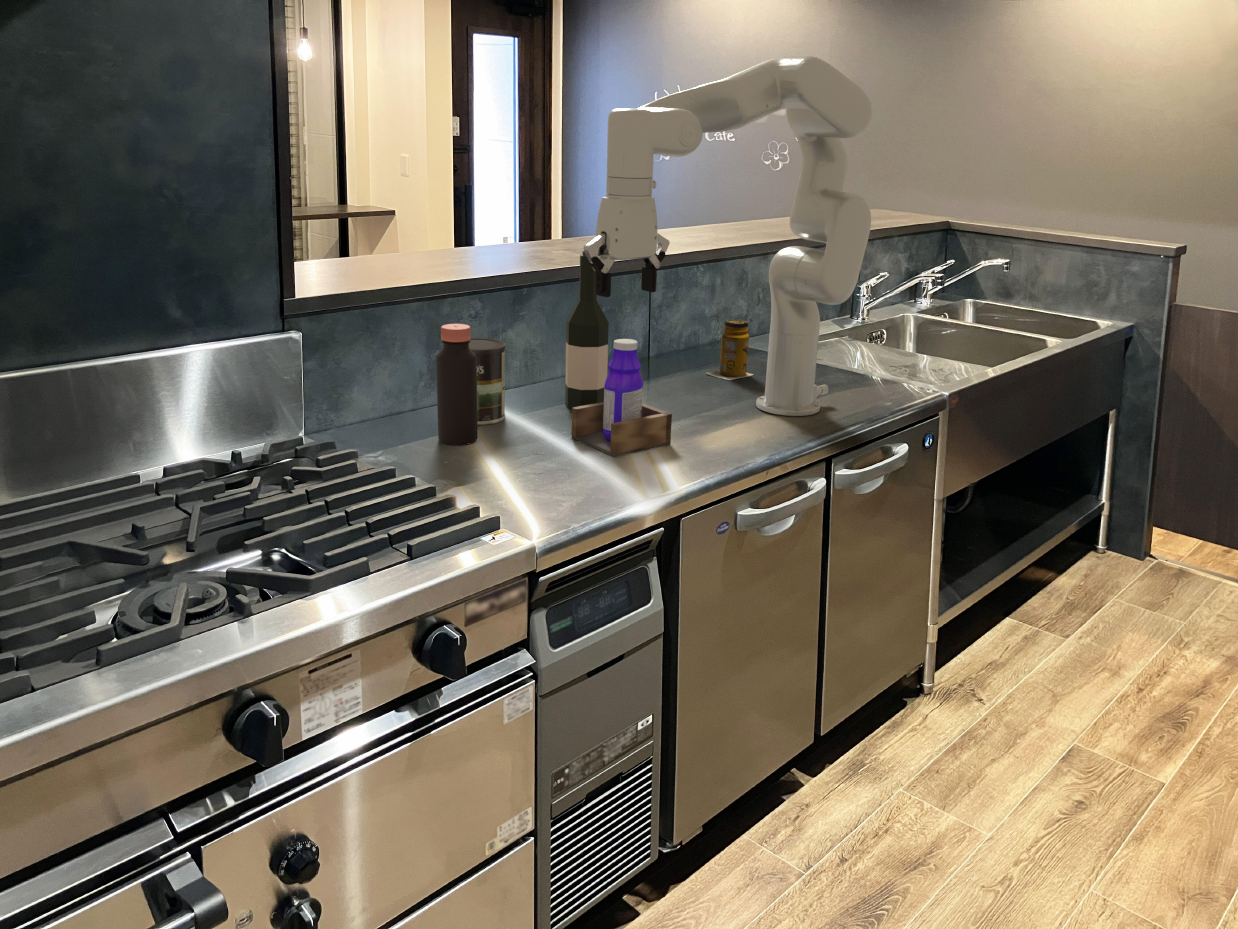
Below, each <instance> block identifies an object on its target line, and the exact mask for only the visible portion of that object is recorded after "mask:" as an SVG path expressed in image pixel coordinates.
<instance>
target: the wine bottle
mask: <svg viewBox="0 0 1238 929" xmlns="http://www.w3.org/2000/svg"><path fill="white" fill-rule="evenodd" d="M597 257H598V256H597ZM587 259H588V258H587V257H586V254H585V252H584V249H583V250H582V252H581V254H580V255H579V282H578V283H579V291H578V294H579V295H578V301H577V302H576V304H575V305H574V307H573V308H572V310H571V312H570V313H569V315H568V316H567V318H566V321H565V322H566V325H565V334H566V335H565V383H564V384H565V385H564V386H565V388H564V389H565V390H564V391H565V393H564V401H565V402H564V404H565V406H566V407H567V409H571V410H572V408H573V407H579V406H584V405H590V404H595V403H601V402H604V385H605V381H606V378H607V375H608V364H609V363H608V362H609V361H608V359H609V358H608V357H609V356H608V355H609V329H610V328H609V325H610V324H609V323H610V322H609V320H608V319H607V317H606V315H605V314H604V311H603V310H602V308H601V306H600V304H599V301H598V299H597V298H598V295H597V294H596V271H594V270H593V267H592V266H591V265H590V264H589V262H588V260H587Z"/></svg>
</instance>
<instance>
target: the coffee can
mask: <svg viewBox="0 0 1238 929" xmlns="http://www.w3.org/2000/svg"><path fill="white" fill-rule="evenodd" d="M469 348H470V349H471V350H472V351H473V352H474V353H475V355H476V358H477V424H478V426H485V425H493V424H497V423H498V424H499V423H500V422H502V421H504V420H505V418H506V413H505V410H506V408H505V406H506V403H505V402H506V400H505V398H506V388H505V385H506V384H505V382H506V367H505V366H506V362H505V360H506V359H505V358H506V352H505V351H506V343H505V342H504V341H502V340H498V339H495V338H489V337H488V338H486V337H471V339H470V343H469Z"/></svg>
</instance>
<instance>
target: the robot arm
mask: <svg viewBox="0 0 1238 929" xmlns="http://www.w3.org/2000/svg"><path fill="white" fill-rule="evenodd" d="M784 109H785V110H786V112H785V113H786V119H787V122H788V124H789V127H790V128H791V130H792V132H793V133H794V136H795V137H796V139H797V142H798V144H799V148H800V152H801V166H800V172H799V177H798V181H797V185H796V190H795V193H794V197H793V202H792V206H791V211H790V217H789V227H790V230H791V232H792V234H794V236H797V237H798V238H800V239H802V240H806V241H812V242H818V243H824V244H826V245H825V250H823V249H818V248H813V247H808V246H807V247H806V246H802V245H801V246H800V245H799V246H798V245H793V246H787V247H784V248H782V249H780V250H779V251H777V252H776V253H775V255H774V256H773V258H772V259H771V261H770V264H769V270H768V281H769V289H770V290H769V291H770V299H771V300H770V302H771V304H770V305H771V306H770V307H771V310H770V324H769V334H768V335H769V336H768V348H767V361H766V362H767V363H766V373H765V374H766V375H765V389H764V395H762V396H759V397H757V398H756V400H755V401H756V402H755V406H756V407H757V408H758V410H761V411H763V412H766V413H769V414H772V415H778V416H788V417H803V416H810V415H811V416H812V415H815V414H817V413H818V412H820V410H821V404H820V402H819V401H817V397H818V396H820V395H826V394H828V393H829V386H828V384H825V383H824V384H821V385H817V384H815V381H816V371H817V361H818V349H819V348H818V347H819V340H820V339H819V338H820V330H821V328H820V327H821V316H820V311H819V307H818V304H817V303H819V304H820V303H821V304H825V305H830V306H834V305H835V306H837V305H840V304H843V303H845V302H846V301H847V300H849V298H850V297H851V295H852V294H853V292H854V290H855V288H856V285H857V283H858V281H859V280H858V279H859V276H860V272H861V268H862V265H863V260H864V256H865V254H866V249H867V245H868V241H869V237H870V232H871V229H872V228H871V227H872V213H871V209H870V205H869V203H868V202H867V200H866V199H865V198H864V197H862V196H861V195H860V194H857V193H855V192H849V191H848V192H847V191H844V188H845V182H846V177H847V172H848V155H847V152H846V148H845V145H844V144H843V141H842V139H853V138H855V137H858V136H860V135H861V134H862V133H864V132H865V131H866V130H867V128H868V127H869V125H870V123H871V120H872V112H873V110H872V109H873V107H872V103H871V100H870V98H869V96H868V94H867V93H866V92H865V90H864V89H863V88H862V87H860V85H858V84H856V83H855V82H854V81H853V80H851V79H850V78H849V77H847V76H846V75H845V74H844V73H843V72H841V71H840V70H838V69H837V68H835V67H834V66H833V65H831V64H830V63H828V61H825V60H823V59H821V58H820V57H819V58H818V57H817V56H807V55H806V56H779V57H773V58H771V59H770V58H769V59H768V60H765V61H763V62H760V63H758V64H756V65H753V66H750V67H749V68H746V69H744V70H742V71H739V72H737V73H734V74H732V75H730V76H726V77H725V78H722V79H720V80H716V81H711V82H709V83H705V84H701V85H698V86H695V87H692V88H689V89H686V90H682V91H678V92H674V93H672V94H668V95H665V96H663V97H660V98H658V99H657V98H656V99H655V100H652V101H651V102H649V103H646V104H644V105H641V106H640V107H637V108H631V107H630V108H628V107H627V108H624V107H623V108H621V107H620V108H614V109H612V110H611V111H610V112H609V114H608V117H607V143H606V144H607V146H606V148H607V149H606V150H607V151H606V154H607V156H606V157H607V158H606V184H605V185H606V187H605V188H606V189H605V192H606V193H605V195H606V196H602V197H601V200H600V203H599V209H598V213H597V214H598V215H597V220H596V221H597V222H596V230H595V237H594V238H592V239H591V240H590V241H589V242H587V243H586V244H584V245H583V248H582V249H583V250H584V252H585V254H586V257H587V258H588V259H587V260H588V262H589V264H590V265H591V266H592V267H593V270H594V271H596V294H597V296H598V297H599V296H600V297H602V298H610V297H612V296H611V295H612V291H611V290H612V273H611V272H609V270H610V269H611V267H612V266H613V264H614V263H615V261H616V262H617V261H630V260H631V261H632V260H641V261H642V263H643V264H644V266H641V280H640V282H641V283H640V284H641V287H640V288H641V290H642V291H646V292H649V293H656V291H657V272H658V269H659V268H661V264H662V261H663V260H664V259H665V257H666V252H667V250H668V248H669V246H670V240H669V239H667V238H666V237H664V236H663V235H661V234H660V233H658V216H657V205H656V200H655V197H653V190H654V189H656V188H657V182H656V181H655V180H654V178H653V177H654V159H655V158H654V156H655V155H656V156H665V157H673V158H675V157H677V158H678V157H679V158H680V157H686V156H688V155H690V154H692V153H694V152H695V151H696V150H697V149H698V148H699V146H700V144H701V142H702V140H703V135H704V134H707V133H709V134H711V133H722V132H729V131H733V130H738V129H742V128H744V127H746V126H747V125H750V124H752V123H754V122H757V121H758V120H761V119H763V118H766V117H767V116H769V115H772V114H773V113H776V112H779V111H781V110H784ZM597 256H598V257H597Z"/></svg>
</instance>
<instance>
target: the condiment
mask: <svg viewBox="0 0 1238 929" xmlns="http://www.w3.org/2000/svg"><path fill="white" fill-rule="evenodd" d="M748 332H749V322H748V321H747V320H743V319H735V318H732V319H726V320H724V326H723V332H722V333H721V340H720V355H719V356H720V358H719V370H714V371H709V372H705V374H707V375H709V376H712V377H713V378H714V377H715V378H718V379H724V380H727V381H733V380H736V379H742V378H748V377H751V376H754V375H755V374H754V373H749V372H747V369H748V355H749V343H750V335H749V333H748Z"/></svg>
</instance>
